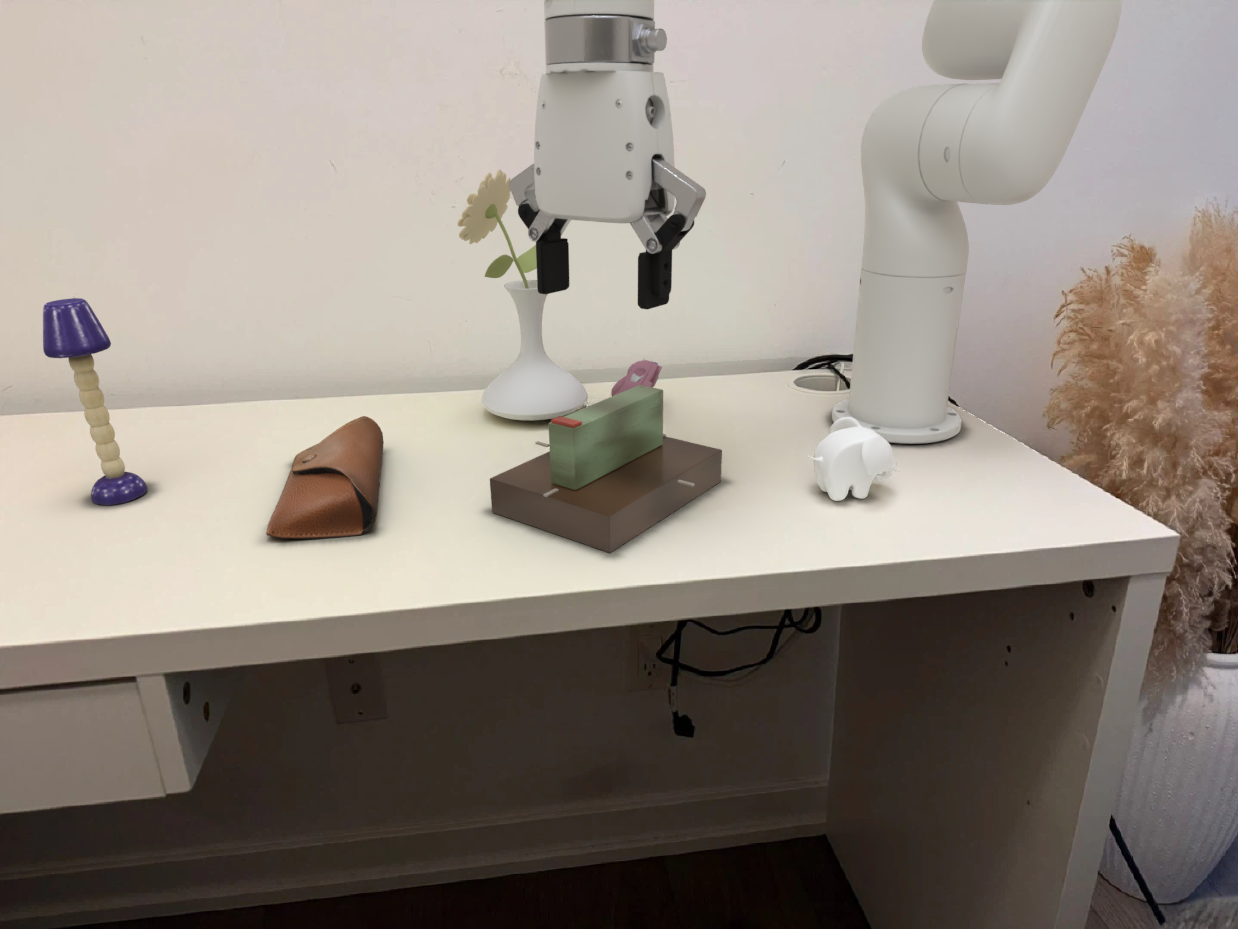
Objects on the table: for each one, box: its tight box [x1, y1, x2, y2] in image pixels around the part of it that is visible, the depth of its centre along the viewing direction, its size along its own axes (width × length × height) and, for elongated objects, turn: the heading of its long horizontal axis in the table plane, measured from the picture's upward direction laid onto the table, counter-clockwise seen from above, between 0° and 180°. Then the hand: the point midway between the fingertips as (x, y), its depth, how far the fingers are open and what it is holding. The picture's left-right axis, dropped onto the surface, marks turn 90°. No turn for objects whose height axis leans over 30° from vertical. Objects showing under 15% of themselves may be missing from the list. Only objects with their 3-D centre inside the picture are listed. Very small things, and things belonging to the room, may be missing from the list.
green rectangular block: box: [547, 385, 664, 490], centre depth 69 cm, size 12×2×5 cm, turn 143°
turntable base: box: [489, 433, 723, 554], centre depth 71 cm, size 16×16×3 cm
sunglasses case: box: [265, 415, 385, 540], centre depth 72 cm, size 18×7×7 cm
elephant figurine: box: [806, 417, 900, 502], centre depth 70 cm, size 7×8×6 cm
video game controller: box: [610, 358, 663, 397], centre depth 90 cm, size 10×5×7 cm, turn 168°
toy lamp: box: [42, 297, 148, 506], centre depth 70 cm, size 5×5×17 cm
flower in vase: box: [457, 169, 589, 422], centre depth 87 cm, size 13×11×25 cm
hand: (601, 298), depth 65 cm, fingers open, 9 cm apart
